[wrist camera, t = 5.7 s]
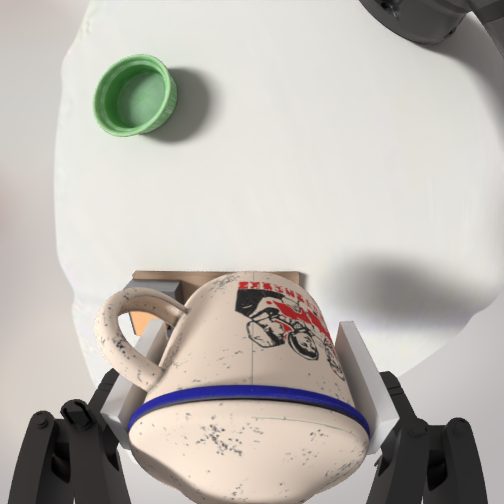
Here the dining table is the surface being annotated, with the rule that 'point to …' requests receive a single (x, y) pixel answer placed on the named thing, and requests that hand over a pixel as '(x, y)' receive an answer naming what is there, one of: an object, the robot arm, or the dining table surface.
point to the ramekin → (134, 96)
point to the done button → (142, 321)
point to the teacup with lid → (239, 392)
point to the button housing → (162, 285)
